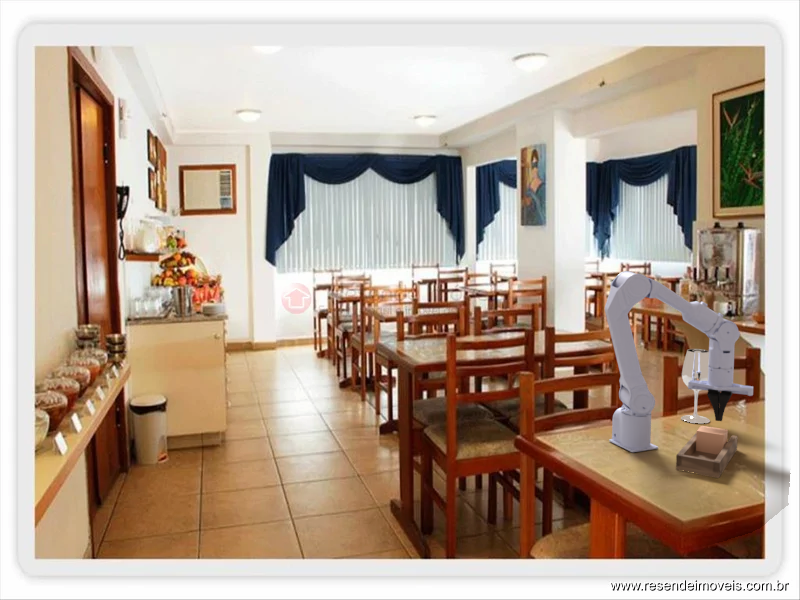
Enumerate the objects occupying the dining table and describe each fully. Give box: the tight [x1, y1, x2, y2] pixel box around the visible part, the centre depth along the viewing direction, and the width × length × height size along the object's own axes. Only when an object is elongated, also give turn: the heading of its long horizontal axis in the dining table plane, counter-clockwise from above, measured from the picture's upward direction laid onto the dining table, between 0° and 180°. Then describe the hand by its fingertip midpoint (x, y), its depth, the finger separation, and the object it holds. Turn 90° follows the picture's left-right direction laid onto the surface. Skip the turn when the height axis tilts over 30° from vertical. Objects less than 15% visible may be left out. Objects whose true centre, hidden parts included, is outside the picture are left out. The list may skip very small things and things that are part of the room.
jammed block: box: [695, 425, 729, 455], centre depth 163 cm, size 5×6×5 cm
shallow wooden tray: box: [675, 431, 738, 479], centre depth 160 cm, size 22×9×4 cm, turn 144°
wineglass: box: [680, 348, 711, 425], centre depth 190 cm, size 8×8×20 cm
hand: (718, 419), depth 169 cm, fingers closed
